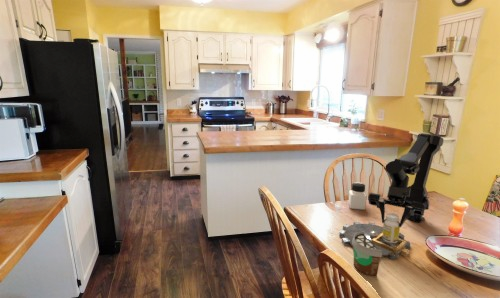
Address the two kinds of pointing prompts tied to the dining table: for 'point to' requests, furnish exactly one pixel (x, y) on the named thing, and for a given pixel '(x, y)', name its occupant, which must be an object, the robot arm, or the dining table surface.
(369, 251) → the food container
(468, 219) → the dining table surface
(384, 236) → the supplement bottle
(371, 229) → the sprocket
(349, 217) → the dining table surface
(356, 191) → the medicine bottle
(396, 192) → the robot arm
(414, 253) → the dining table surface
